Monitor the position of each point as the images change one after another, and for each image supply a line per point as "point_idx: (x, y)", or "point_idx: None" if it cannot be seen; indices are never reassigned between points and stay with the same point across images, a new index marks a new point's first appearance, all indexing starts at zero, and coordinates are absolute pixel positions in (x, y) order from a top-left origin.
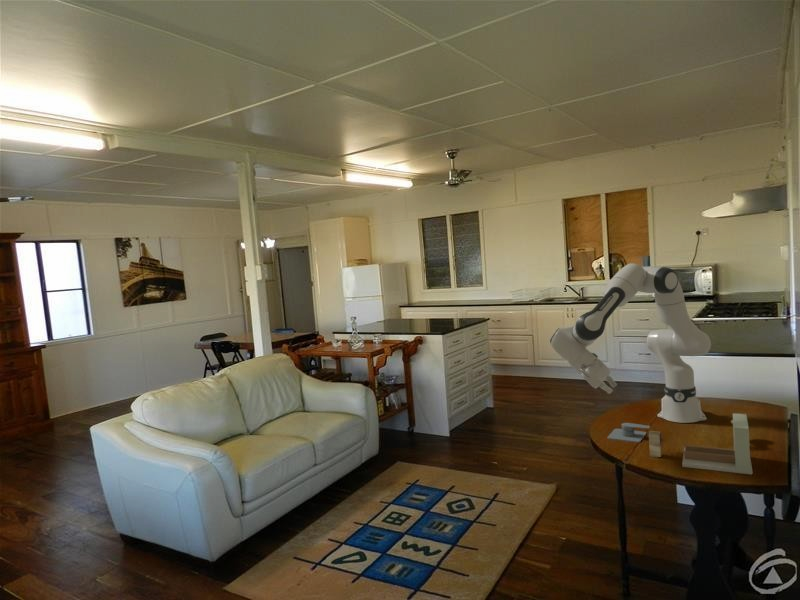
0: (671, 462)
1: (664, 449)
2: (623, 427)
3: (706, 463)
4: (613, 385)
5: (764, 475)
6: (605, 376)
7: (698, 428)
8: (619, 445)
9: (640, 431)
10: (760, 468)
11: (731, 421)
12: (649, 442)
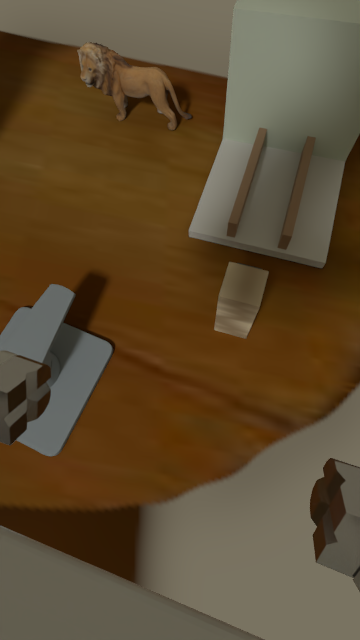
0: (290, 288)
1: (179, 285)
2: None
3: (315, 208)
4: (32, 399)
5: None
6: (137, 630)
7: (13, 171)
8: (135, 421)
9: (11, 323)
10: None
11: (86, 77)
12: (253, 319)
